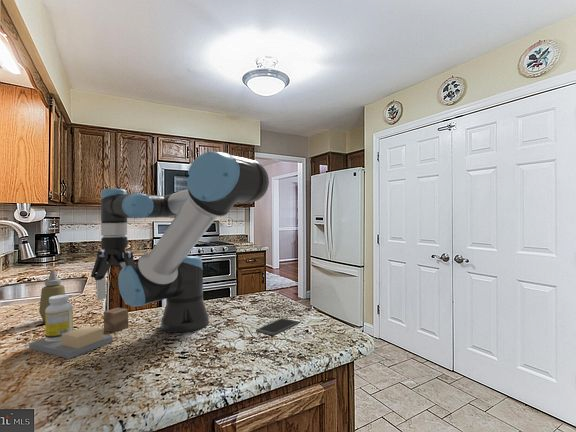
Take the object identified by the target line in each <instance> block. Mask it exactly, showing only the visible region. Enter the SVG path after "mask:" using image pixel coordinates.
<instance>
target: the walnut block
mask: <svg viewBox="0 0 576 432" xmlns="http://www.w3.org/2000/svg"><path fill="white" fill-rule="evenodd" d="M124 328H125V329H127V328H129V309H128V308H124V307H116V308H112V309H109V310H104V311H103V331H106V332H111V333H116V332H119V331H122V330H124Z"/></svg>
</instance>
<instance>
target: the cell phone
mask: <svg viewBox="0 0 576 432" xmlns="http://www.w3.org/2000/svg"><path fill="white" fill-rule="evenodd" d="M298 324H300V323H299V321H297V320H293V319H289V318H284V317H283V318H279V319H277V320H275V321H273V322H271V323H268V324H266V325H264V326H261V327H258V328H256V329H255V332H256V333H259V334H264V335H268V336H271V337H272V336H273V337H274V336H277V335H278V334H281V333H283V332H284V331H287V330H288V329H291V328H292V327H294V326H297V325H298Z"/></svg>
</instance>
